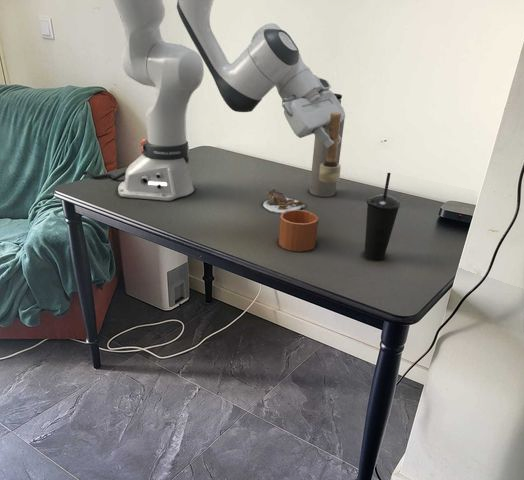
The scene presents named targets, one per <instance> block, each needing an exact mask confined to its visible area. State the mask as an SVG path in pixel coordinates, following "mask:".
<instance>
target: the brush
mask: <svg viewBox="0 0 524 480" xmlns="http://www.w3.org/2000/svg"><path fill="white" fill-rule="evenodd" d="M340 120H341V113H331V115H330V125H329V135H328V136H329V137H332V138H333V140H334V142H335V143H334V144H333V145H332V146H331V147H329V148H327V155H326V160H325V161H324V163H321V164H320V172H319V180H320V181H323V182H329V183H334V182H337V183H338V182H339V181H340V179H341V178H340V177H341V169H342V165H341V164H340V163H339V164H338V162H337V161H336V157H337V147H338V138H339V129H340Z"/></svg>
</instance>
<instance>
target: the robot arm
mask: <svg viewBox="0 0 524 480" xmlns="http://www.w3.org/2000/svg"><path fill="white" fill-rule="evenodd" d="M214 1H215V0H177V1H176V9H177V10H176V11H177V13H178V16H179V18H180V20H181V23H182V24H183V26H184V28H185V29H186V31H187V34H188V35H189V37H190V39H191V42H192V43H193V44H194V47H195V48H196V50H197V51H195V50H193V49H191V48H190V47H187V46H186V45H182V44H178V43H171V42H165V40H164V39H163V37H162V33H161V25H162V24H163V21H164V19H165V17H166V7H165V5H164V1H163V0H113V2H114V5H115V7H116V10H117V14H118V16H119V18H120V21H121V23H122V27H123V31H124V35H125V47H124V49H123V51H122V56H121V62H122V63H121V64H122V67H123V70H124V72H125V74H126V76H128V77H129V78H130V79H131V80H133V81H135V82H137V83H138V84H141V85H143V86H147V87H152V88H155V98H154V102H153V104H152V105H151V106H149V107H148V108H147V110H146V112H145V124H146V136H147V139H146V138H143V139H142V140H141V141H140V150H141V155H140V156H139V157H137V158H136V159H135V160H134V161H133V162H132V163H130V164H129V165H127V166H126V170H125V171H123V172H121V173H119V174H117V175H114V174H112V173H103V174H94V173H92V172H91V171H90V170H84V171H83V172H82V173H81V174H82V176H86V175H89V177H92V178H94V179H103V178H111V180H118V179H120V178H122V177H124V180H123V181H122V182H120V183H119V185H118V188H117V191H118V192H117V193H118V196H120V197H121V198H131V199H142V200H155V201H165V202H166V201H167V202H168V201H169V202H170V201H173V200H175V199H178V198H182V197H187V196H188V195H190V194H191V195H192V193H193V192H194V191H195V188H194V184H193V181H192V177H191V172H190V166H189V161H190V146H189V142H188V140H187V112H188V111H187V110H188V107H189V106H188V105H189V103H190V100H191V97H192V95H193V94H194V92H195V91H196V90H197V89H198V88H200V86H201V84H202V83H203V80H204V77H205V76H204V75H205V66H206V67H207V69H208V71H209V73H210V75H211V77H212V78H213V80H214V83H215V85H216V88H217V90H218V92H219V94H220V96H221V97H222V100H223V101H224V102H225V104H226V105H227V107H229V109H231V110H232V111H234V112H237V113H249V112H253V111H254V110H255V108H256V107H257V106H258V105H259V103H261V101H262V100H263V98H264V97H265V96H267V94H268V93H269V92H271V90H273V89H274V88H276V91H277V93H278V95H279V97H280V98H281V107H282V108H283V114H284V117H285V120H286V121H287V123H288V125H289V127H290V128H291V130H292V131H293V134H294V135H295V136H296V137H298V138H299V139H302V138H305V137H308V136H310V135H313V136H314V137H315V136H316V137H317V138H318V139H319V140H320V141H322V142H323V143H324V145H325V146H326V147H327V148H329V147H331V146H332V145H333V144H334V143H335V142H334V140H333V138H332V137H329V136H328V135H327V133H326V132H325V129H326V131H327V132H328V133H329V125H330V115H331V113H341V120H340V122H341V121H342V120H343V119H344V118H345V119H346V113H345V110H344V107H343V106H342V103H341V104H340V103H339V101H338V99H337V98H336V96H335V95H334V92H333V91H332V90H330V89H331V84H330V83H329V81H328V80H327V79H325V78H322V77H319V76H317V75H316V74H314V73H313V72H312V69H311V68H310V67H309V66H307V65H306V63H305V62H304V61H303V59H302V56H301V53H300V50H299V48H298V46H297V45H296V43H295V41H294V40H293V39H292V37H291V36H290V34H289V33H288V32H286V31H285V30H283V29H282V28H281V27H280V26H279V25H278V24H277V23H274V22H273V23H271V22H270V23H266V24H264V25H263V26H261V27H260V28H259V29H257V30H256V32H255V33H254V34H253V36H252V37H251V41H250V43H249V44H248V45H247V47H246V48H245V49H244V50H243V51H242V52H241V53H240V55H239V56H238V57H237V58H236V59H235V60H234V61H233V62H232V63H230V61H229V60H228V58H227V56H226V55H225V52H224V51H223V49H222V47H221V45H220V44H219V42H218V40H217V38H216V37H215V34H214V32H213V29H212V28H211V27H212V26H211V12H212V8H213V4H214ZM204 64H205V66H204ZM342 107H343V108H342ZM345 119H344V120H345ZM341 140H342V141H343V138H342V139H341V137H340V136H339V138H338V143H340V142H341Z"/></svg>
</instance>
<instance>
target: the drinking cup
mask: <svg viewBox="0 0 524 480" xmlns="http://www.w3.org/2000/svg"><path fill="white" fill-rule="evenodd" d="M386 174H387V175H386V180H385V184H384V185H385V186H384V191H383V194H376V195H372V196H369V197H368V198H367V199H366V204H367V207H366V208H367V210H366V225H365V238H364V253H363V255H364V256H363V257H365V258H366V259H367V260H371V261H382V260H384V259H385V255H386V253H387V249H388V247H389V242H390V239H391V235H392V232H393V229H394V226H395V222H396V219H397V215H398V211H399V209H400V207H401V205H402V202H401V201H400V200H399V199H397V198H395V197H394V196H391V195H388V190H389V184H390V179H391V174H392V173H391V172H387V173H386Z"/></svg>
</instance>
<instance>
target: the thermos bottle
mask: <svg viewBox="0 0 524 480" xmlns="http://www.w3.org/2000/svg"><path fill="white" fill-rule="evenodd" d="M333 93H334V92H333ZM334 95H335V96H336V98H337V99H338V101H339V103H340V104H341V105H342V99H343V95H342V94H340V93H334ZM342 108H343V109H344V107H343V106H342ZM345 119H346V117H345V118H344V119H343V120H342V121H341V122H340V129H339V136H340V137H341V139H342V140H341V142H340V143H338V147H337V157H336V161H337V162H338V164H340V157H341V151H342V143H343V134H344V126H345ZM325 132H326V133H327V135H329V133H328V132H327V131H326V129H325ZM326 155H327V147H326V146H325V145H324V143H323V142H322V141H320V140H319V139H318V138H317V137H316V136H315V135H314V143H313V154H312V163H311V173H310V174H311V175H310V184H309V193H310V194H311V195H313V196H315V197H321V198H329V197H333V196H335V195H336V191H337V183H338V182H334V183H329V182H323V181H320V180H319V172H320V164H321V163H324V161H325V160H326Z"/></svg>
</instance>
